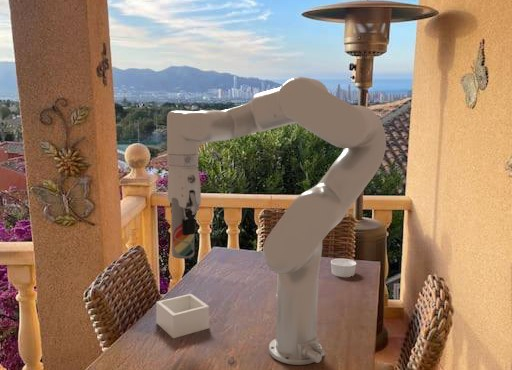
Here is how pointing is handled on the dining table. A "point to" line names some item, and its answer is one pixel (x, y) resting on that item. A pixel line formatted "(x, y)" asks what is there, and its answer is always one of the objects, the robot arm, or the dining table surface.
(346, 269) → the ramekin
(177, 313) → the caddy
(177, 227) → the lotion bottle
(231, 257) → the dining table surface
